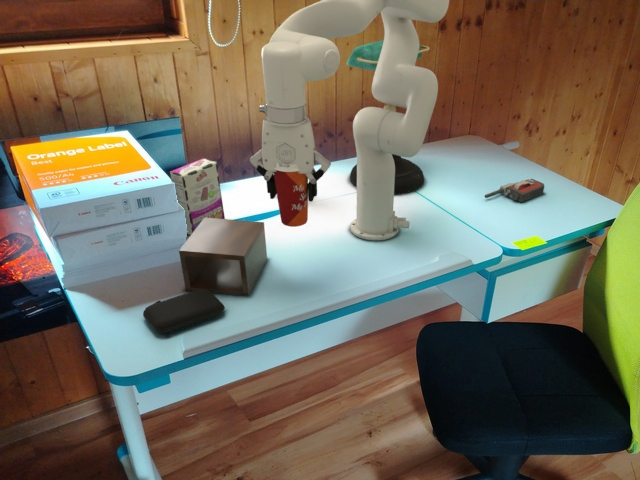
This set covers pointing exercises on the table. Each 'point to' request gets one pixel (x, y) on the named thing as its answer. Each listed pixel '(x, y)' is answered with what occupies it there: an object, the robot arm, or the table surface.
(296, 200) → the paper cup
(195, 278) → the shelf
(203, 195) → the candy bar box
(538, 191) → the walkie-talkie
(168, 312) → the carrying case
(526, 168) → the table surface
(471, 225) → the table surface
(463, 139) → the table surface
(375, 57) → the banker's lamp
